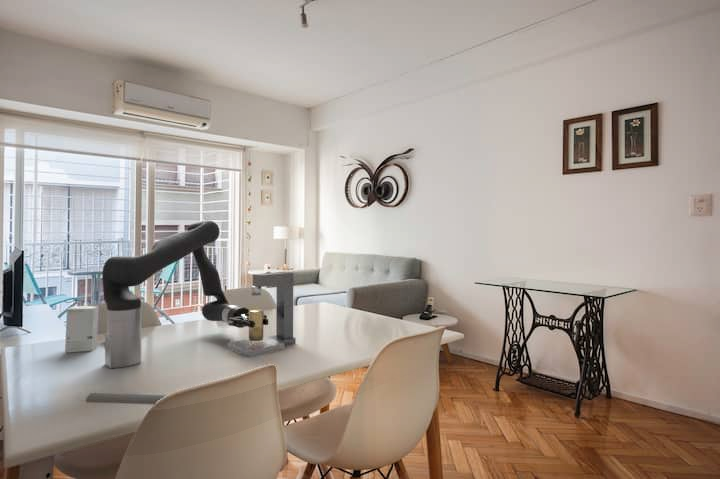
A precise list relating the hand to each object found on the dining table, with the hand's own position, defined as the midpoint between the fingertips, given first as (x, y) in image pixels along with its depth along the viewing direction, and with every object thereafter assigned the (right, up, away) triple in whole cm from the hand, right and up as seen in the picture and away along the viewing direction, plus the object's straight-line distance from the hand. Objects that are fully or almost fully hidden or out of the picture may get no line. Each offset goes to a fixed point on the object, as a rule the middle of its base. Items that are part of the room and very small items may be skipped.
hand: (260, 323), depth 144 cm
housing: (-2, -6, +2) cm, 7 cm away
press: (-1, -9, +7) cm, 11 cm away
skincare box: (-61, -9, -1) cm, 62 cm away
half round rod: (-22, -11, -42) cm, 49 cm away
